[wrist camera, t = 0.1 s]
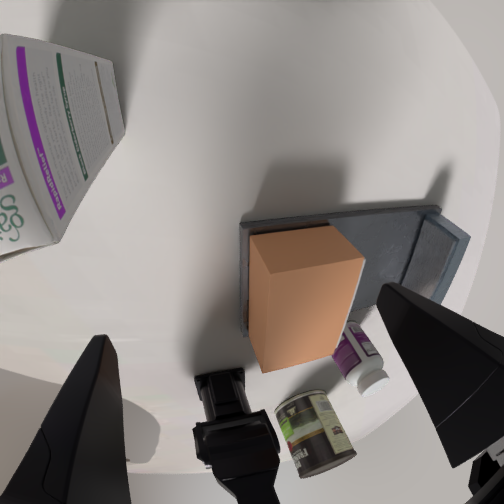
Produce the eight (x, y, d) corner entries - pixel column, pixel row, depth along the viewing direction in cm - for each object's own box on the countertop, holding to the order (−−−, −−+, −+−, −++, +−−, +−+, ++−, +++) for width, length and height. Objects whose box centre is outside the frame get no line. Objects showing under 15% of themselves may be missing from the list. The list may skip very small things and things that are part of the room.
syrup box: (113, 58, 14) (2, 14, 2) (128, 137, 17) (58, 252, 6) (40, 86, 13) (-117, 130, 1) (57, 160, 16) (-59, 293, 5)
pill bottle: (327, 351, 38) (357, 405, 31) (320, 333, 35) (355, 393, 28) (359, 333, 38) (393, 384, 31) (356, 313, 35) (395, 368, 28)
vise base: (240, 330, 31) (257, 379, 25) (239, 223, 23) (264, 270, 18) (407, 288, 36) (434, 318, 31) (436, 204, 29) (474, 232, 24)
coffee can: (269, 421, 48) (293, 482, 37) (280, 397, 43) (311, 469, 32) (316, 409, 52) (343, 465, 40) (333, 384, 46) (367, 447, 35)
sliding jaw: (248, 335, 29) (262, 373, 25) (249, 235, 23) (270, 273, 19) (317, 319, 31) (337, 352, 27) (337, 224, 25) (369, 256, 21)
